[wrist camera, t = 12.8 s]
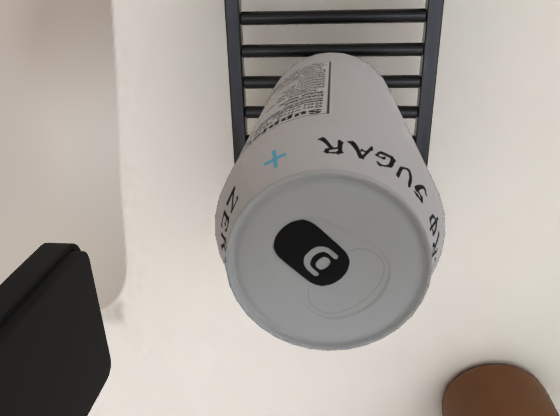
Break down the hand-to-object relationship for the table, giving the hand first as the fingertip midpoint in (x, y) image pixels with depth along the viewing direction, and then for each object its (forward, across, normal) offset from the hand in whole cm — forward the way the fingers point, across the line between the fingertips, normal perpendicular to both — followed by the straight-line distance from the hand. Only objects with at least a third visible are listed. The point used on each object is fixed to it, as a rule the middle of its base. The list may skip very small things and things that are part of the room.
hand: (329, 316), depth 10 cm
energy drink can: (+18, 0, +1) cm, 18 cm away
